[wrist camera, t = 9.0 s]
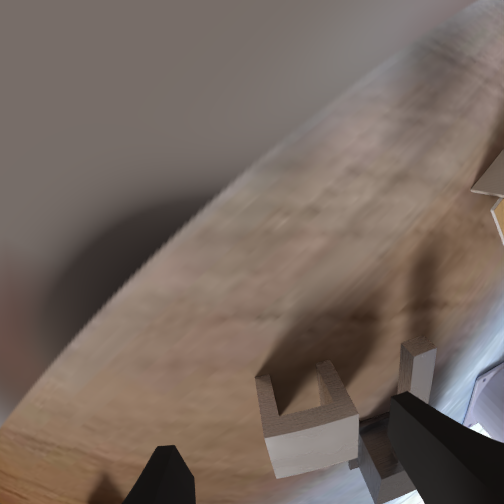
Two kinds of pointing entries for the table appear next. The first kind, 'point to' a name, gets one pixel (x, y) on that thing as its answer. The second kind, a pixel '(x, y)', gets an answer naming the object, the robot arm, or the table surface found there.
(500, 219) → the architectural model
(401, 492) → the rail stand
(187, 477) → the robot arm
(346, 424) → the bracket
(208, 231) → the table surface
